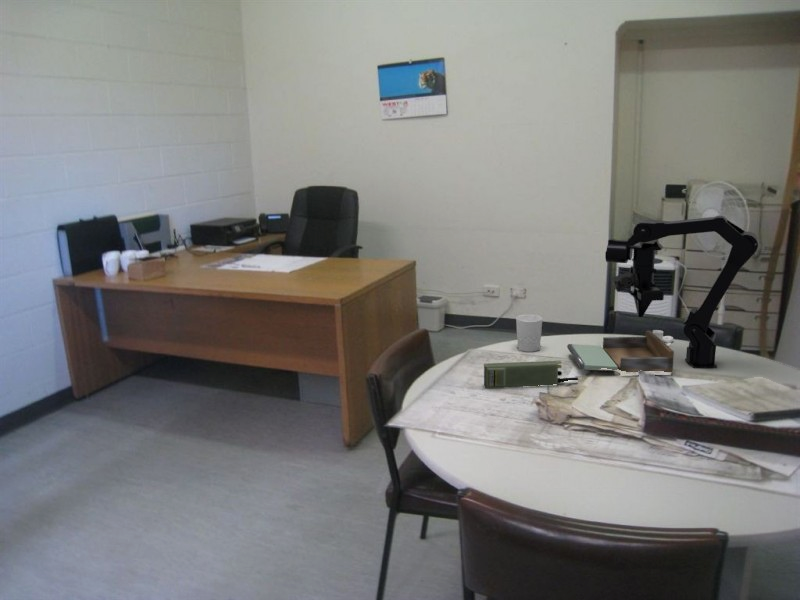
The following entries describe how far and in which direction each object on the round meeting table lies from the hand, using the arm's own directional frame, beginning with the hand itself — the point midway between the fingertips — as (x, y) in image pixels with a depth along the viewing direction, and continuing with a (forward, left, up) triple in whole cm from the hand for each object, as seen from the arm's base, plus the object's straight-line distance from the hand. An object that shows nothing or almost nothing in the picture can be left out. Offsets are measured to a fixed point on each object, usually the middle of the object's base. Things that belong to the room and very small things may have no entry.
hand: (640, 316), depth 182 cm
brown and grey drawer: (+3, +7, -12) cm, 14 cm away
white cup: (+31, -8, -12) cm, 34 cm away
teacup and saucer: (-12, -9, -13) cm, 20 cm away
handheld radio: (+35, +22, -12) cm, 43 cm away
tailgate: (+11, +7, -10) cm, 16 cm away
